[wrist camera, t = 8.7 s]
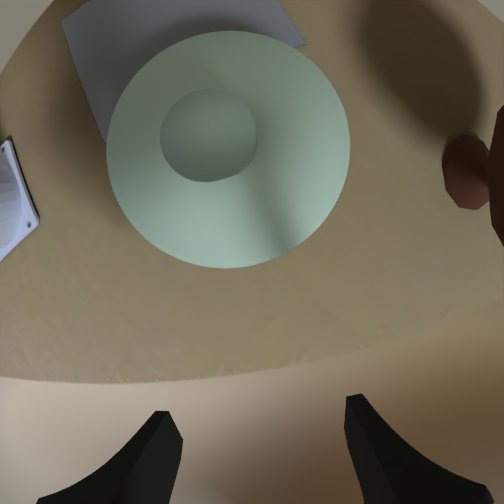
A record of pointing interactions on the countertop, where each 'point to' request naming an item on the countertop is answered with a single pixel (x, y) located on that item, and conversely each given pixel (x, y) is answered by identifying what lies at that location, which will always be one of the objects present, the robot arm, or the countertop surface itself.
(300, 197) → the lid
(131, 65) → the placemat
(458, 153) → the ice cream bowl
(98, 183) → the countertop surface
